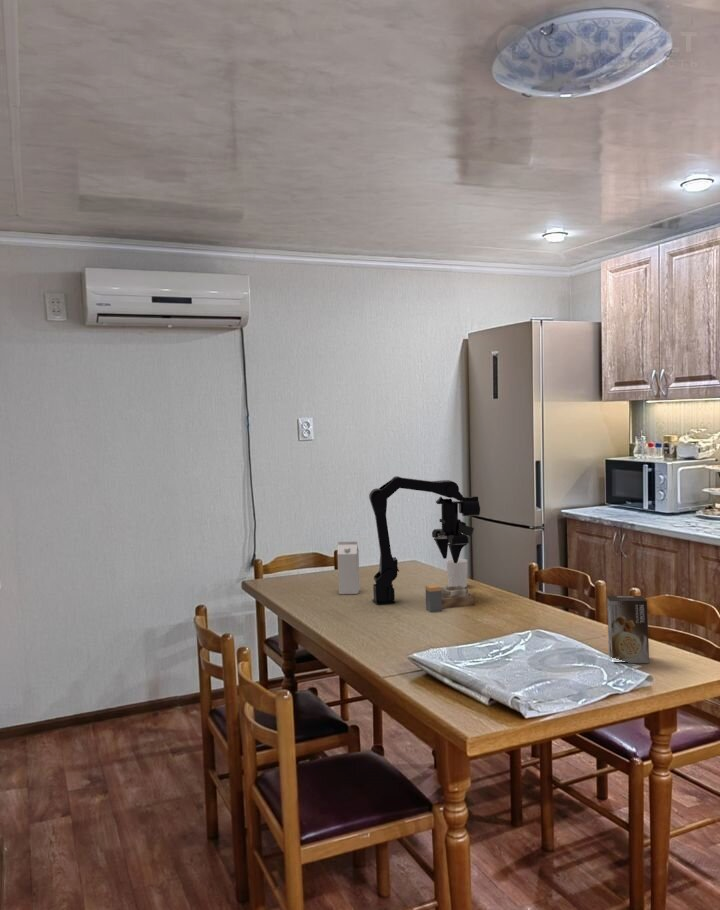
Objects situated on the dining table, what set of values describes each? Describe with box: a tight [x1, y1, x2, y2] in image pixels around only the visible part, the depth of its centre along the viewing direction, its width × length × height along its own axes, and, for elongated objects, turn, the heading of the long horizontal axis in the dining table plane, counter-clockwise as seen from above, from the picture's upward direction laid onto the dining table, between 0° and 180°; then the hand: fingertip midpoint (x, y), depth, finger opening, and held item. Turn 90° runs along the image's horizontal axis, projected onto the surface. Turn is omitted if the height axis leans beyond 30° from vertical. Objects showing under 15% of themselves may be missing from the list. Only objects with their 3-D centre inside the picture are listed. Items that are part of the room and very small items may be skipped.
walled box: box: [440, 585, 475, 609], centre depth 262 cm, size 12×11×5 cm
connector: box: [424, 584, 443, 613], centre depth 253 cm, size 4×4×8 cm
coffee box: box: [606, 594, 650, 664], centre depth 195 cm, size 9×6×16 cm
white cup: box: [446, 558, 468, 589], centre depth 287 cm, size 8×8×10 cm
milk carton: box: [337, 540, 361, 595], centre depth 284 cm, size 7×7×19 cm
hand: (450, 560), depth 268 cm, fingers open, 9 cm apart
